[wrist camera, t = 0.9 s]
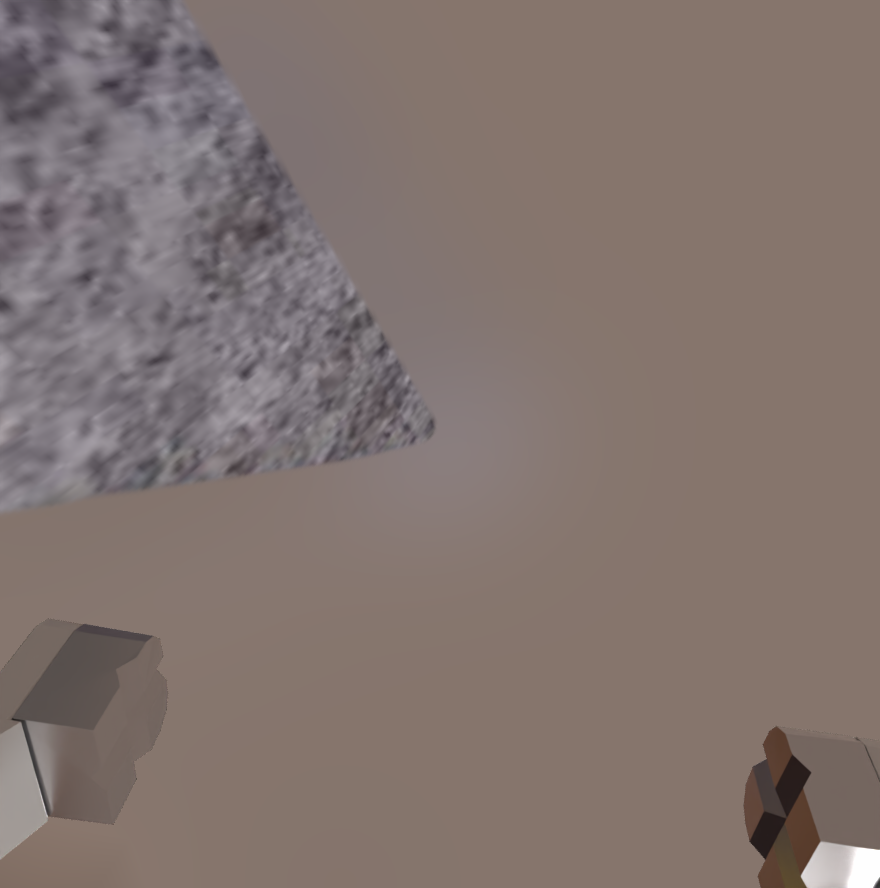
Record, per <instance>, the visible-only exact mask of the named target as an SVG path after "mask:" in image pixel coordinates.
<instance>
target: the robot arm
mask: <svg viewBox="0 0 880 888" xmlns="http://www.w3.org/2000/svg"><path fill="white" fill-rule="evenodd" d="M162 658H163V651H162V646H161V641H160V638H157V637H155V636H150V635H145V634H139V633H133V632H127V631H121V630H116V629H110V628H104V627H99V626H93V625H87V624H78V623H72V622H66V621H60V620H54V619H47V620H45V621H43V622H42V623H40V624H39V625H37V626H36V627H35V628H34V629H33V631H32V632H31V633H30V634H29V636H28V637H27V639H26V640H25V641H24V642H23V643H22V645H21V646H20V647H19V649H18V650H17V651H16V653H15V654H14V655H13V656H12V658H11V659H10V660H9V661H8V663H7V664H6V665H5V667H4V668H3V669H2V670H1V672H0V859H1V858H3V857H4V856H5V855H7V854H8V853H9V852H10V851H11V850H13V849H14V848H15V847H16V846H18V845H19V844H20V843H21V842H22V841H24V840H25V839H26V838H27V837H28V836H30V835H31V834H32V833H34V832H35V831H36V830H37V829H39V828H40V827H41V826H42V825H43V824H45V823H46V822H47V821H48V816H50V817H57V818H64V819H72V820H80V821H88V822H96V823H103V824H112V825H114V823H115V821H116V819H117V817H118V815H119V813H120V811H121V809H122V807H123V805H124V803H125V801H126V799H127V797H128V795H129V793H130V791H131V789H132V787H133V785H134V783H135V781H136V780H137V778H136V772H135V765H134V761H136V760H137V759H139V758H140V757H142V756H143V755H145V754H146V753H147V752H149V751H150V750H152V748H153V746H154V743H155V741H156V739H157V737H158V735H159V733H160V731H161V727H162V724H163V720H164V717H165V713H166V710H167V698H168V689H167V680H166V679H165V678H164V676H162V674H160V672H159V671H158V670H157V667H158V665H159V663H160V661H161V660H162ZM763 747H764V751H765V754H766V758H767V759H766V760H764V761H762V762H761V763H759V764H757V765H755V766H753V767H752V770H751V772H750V775H749V777H748V780H747V783H746V787H745V796H744V815H745V824H746V828H747V833H748V837H749V842H750V843H751V844H752V845H753V846H754V847H755V848H756V849H757V851H758V852H759V853H760V854H761V855H762V856H763V858H764V859H765V862H764V864H763V866H762V868H761V870H760V872H759V874H758V879H759V883H760V887H761V888H880V741H879V740H872V739H865V738H858V737H855V738H853V737H851V736H846V735H839V734H831V733H824V732H817V731H810V730H802V729H794V728H786V727H779V726H776V727H774V728H773V729H772V730H770V731H769V733H768V735H767V737H766V739H765V741H764V743H763Z"/></svg>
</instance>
